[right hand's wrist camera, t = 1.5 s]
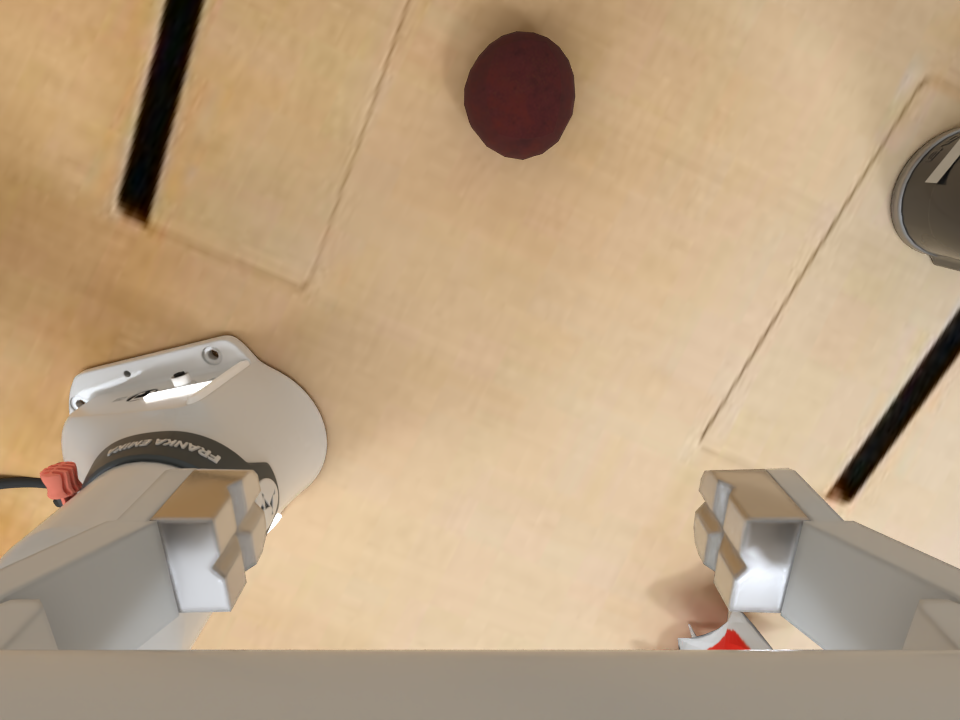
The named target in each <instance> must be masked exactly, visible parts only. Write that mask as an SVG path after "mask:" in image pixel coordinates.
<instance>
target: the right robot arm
mask: <svg viewBox="0 0 960 720" xmlns="http://www.w3.org/2000/svg"><path fill="white" fill-rule="evenodd" d="M212 350H214V351H216V352H217V353H218V357H216V356H214V355H213V353H212ZM82 401H84V402H85V404H83V403H82ZM69 413H70V415H69V417H68V418H67V420H66V422H65V424H64V426H63V430H62V439H61V443H62V454H63V459H64V462H60V463H57V464H55V465H51V466H49V467H48V468H45V469H44V470H43V471H42V472H41V473H40V477H41V479H40V478H29V477H15V478H2V479H0V489H6V488H20V487H37V488H47V490H48V493H47V494H48V495H47V496H48V497H49V498H50V499H54V500H53V502H54V504H55V505H56V506H57V507H60V508H59V509H58V510H57V511H55V512H54V513H53V514H52V515H51V516H49V517H48V518H47V519H46V520H44V521H43V522H42V523H41V524H40V525H38V526H37V527H36V528H35V529H34V530H32V531H31V532H30V533H29V534H28V535H26V536H25V537H24V538H23V539H22V540H20V541H19V542H18V543H16V544H15V545H14V546H13V547H11V548H10V549H9V550H8V551H7V552H6V553H5V554H4V555H3V556H2V557H1V559H0V720H960V569H958V568H956V567H954V566H952V565H950V564H947V563H945V562H943V561H941V560H939V559H936V558H934V557H932V556H930V555H927V554H925V553H923V552H921V551H919V550H916V549H914V548H912V547H910V546H908V545H905V544H903V543H901V542H899V541H897V540H894V539H892V538H890V537H888V536H885V535H883V534H881V533H879V532H877V531H874V530H872V529H870V528H868V527H866V526H863V525H861V524H859V523H857V522H855V521H844V520H843V519H842V518H841V517H840V516H839V515H838V514H837V513H836V512H835V511H834V510H833V509H832V508H831V507H830V506H829V505H828V504H827V503H826V502H825V501H824V500H823V499H822V498H821V497H820V496H819V495H818V494H817V493H816V492H815V491H814V490H813V489H812V488H811V486H810V485H809V484H808V483H807V482H806V481H805V480H804V479H803V478H802V477H801V476H800V475H799V474H798V473H797V472H796V471H794V470H792V469H789V468H778V469H749V470H710V471H704V473H703V476H702V478H701V482H700V487H699V492H700V493H701V495H702V497H703V498H704V500H705V502H704V503H703V504H702V505H701V507H700V508H699V509H698V510H697V511H696V512H695V520H694V537H695V544H696V548H697V551H698V554H699V556H700V558H701V560H702V562H703V564H704V565H706V566H707V567H709V568H710V569H712V570H713V571H715V576H714V582H713V583H714V584H715V586H716V588H717V590H718V592H719V594H720V595H721V597H722V599H723V601H724V603H725V605H726V606H727V608H728V610H729V611H730V612H766V613H781V616H782V617H783V618H785V619H786V620H787V621H788V622H790V623H791V624H792V625H794V626H795V627H796V628H797V629H799V630H800V631H801V632H802V633H804V634H805V635H806V636H807V637H809V638H810V639H811V640H812V641H814V642H815V643H816V644H817V645H819V646H820V647H821V648H823V649H824V650H190V649H191V648H192V646H193V644H194V643H195V641H196V639H197V638H198V636H199V634H200V633H201V631H202V629H203V628H204V626H205V624H206V623H207V621H208V619H209V617H210V616H211V614H212V612H228V611H231V610H232V608H233V607H234V605H235V603H236V601H237V599H238V597H239V595H240V594H241V592H242V590H243V588H244V586H245V584H246V583H247V582H246V576H245V571H247V570H248V569H250V568H251V567H253V566H254V565H256V564H257V562H258V560H259V558H260V556H261V554H262V552H263V547H264V543H265V538H266V536H267V534H268V532H269V531H270V530H271V529H272V528H273V527H274V526H275V525H276V524H277V523H278V521H279V520H280V518H281V515H280V514H281V513H282V511H283V509H284V508H285V507H286V506H287V505H288V504H289V503H290V502H291V501H292V500H293V499H294V498H295V497H296V496H297V495H299V494H300V493H301V492H302V491H303V490H305V489H306V488H307V487H308V486H309V485H310V484H311V483H312V482H313V481H314V480H315V478H316V477H317V476H318V474H319V472H320V471H321V469H322V466H323V464H324V461H325V457H326V452H327V435H326V430H325V426H324V422H323V419H322V417H321V415H320V412H319V410H318V409H317V407H316V405H315V404H314V402H313V401H312V399H311V398H310V397H309V396H308V394H307V393H306V392H305V391H304V390H303V389H302V388H301V387H300V386H299V385H298V384H297V383H295V382H294V381H293V380H292V379H290V378H289V377H287V376H286V375H284V374H282V373H281V372H279V371H277V370H275V369H273V368H271V367H269V366H267V365H266V364H264V363H262V362H261V361H260V360H258V359H257V357H256V356H255V355H254V354H253V353H252V352H251V351H250V350H249V349H248V347H247V346H246V345H245V344H244V343H242V342H241V341H240V340H239V339H237V338H236V337H233V336H230V335H224V336H220V337H216V338H212V339H207V340H203V341H199V342H195V343H191V344H187V345H183V346H179V347H175V348H171V349H167V350H163V351H159V352H155V353H151V354H146V355H142V356H138V357H134V358H130V359H126V360H122V361H118V362H114V363H110V364H106V365H102V366H98V367H94V368H90V369H87V370H84V371H82V372H81V373H79V374H78V375H77V376H75V378H74V380H73V383H72V386H71V390H70V396H69Z"/></svg>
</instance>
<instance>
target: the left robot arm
mask: <svg viewBox="0 0 960 720" xmlns="http://www.w3.org/2000/svg"><path fill="white" fill-rule="evenodd" d="M891 215H892V221H893V224H894V227H895V230H896V232H897V234H898V235H899V237H900V238H901V239H902V240H903V242H904V243H906V244H907V245H908V246H909V247H911V248H912V249H914V250H916V251H918V252H920V253H923V254H927V255H929V256H930V257H931V259H932V262H933V264H934V265H938V266H942V267H946V268H950V269H953V270H957V271H960V127H958V128H955V129H952V130H949V131H947V132H944V133H942V134H940V135H938V136H937V137H935V138H933V139H932V140H930V141H929V142H928V143H926V144H925V145H924V146H923V147H921V148H920V149H919V150H918V151H917V152H916V153H915V154H914V155H913V156H912V158H911V159H910V160H909V161H908V163H907V164H906V165H905V167H904V168H903V170H902V172H901V173H900V175H899V177H898V180H897V182H896V185H895V187H894V191H893V195H892V201H891Z"/></svg>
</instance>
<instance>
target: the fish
mask: <svg viewBox="0 0 960 720" xmlns="http://www.w3.org/2000/svg"><path fill="white" fill-rule="evenodd" d="M688 626H689V629H690V632H691V636H692V638H678V645H679V650H773V649H772V648H771V646H770V645H769V644H768V643H767V641H766V640H765V639H764V637H763V636H762V635H761V634H760V632H759V631H758V630H757V629H756V627H755V626H754V625H753V624H752V623H751V622H750V620H749V619H748V618H747V617H746V616H745V615H744V614H743V613H742V612H730V611H729V610H728V618H727V622H726V623H725V624H724V625H722V626H721V627H720V628H719V629H717V630H714V631H712V632H710V633H707V634H705V635H701V636H697V637H696V635H695V633H694V631H693V629H692V628H691V626H690V624H688Z"/></svg>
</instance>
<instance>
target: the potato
mask: <svg viewBox="0 0 960 720" xmlns="http://www.w3.org/2000/svg"><path fill="white" fill-rule="evenodd" d="M574 101H575V87H574V75H573V72H572V69H571V66H570V63H569V60H568V59H567V57H566V56H565V55H564V53H563V52H562V50H561V49H560V47H558V46H557V45H556V44H555V43H553V42H552V41H551V40H550V39H548V38H547V37H544V36H541V35H539V34H536V33H531V32H517V31H516V32H513V33H510V34H507V35H504V36H501V37H500V38H498V39H497V40H495V41H494V42H492V43H491V44H489V46H488V47H487V48H486V49H485V50H484V51H483V52H482V53H481V54H480V55H479V57H478V58H477V60H476V62H475V63H474V65H473V67H472V68H471V70H470V73H469V76H468V79H467V82H466V85H465V89H464V106H465V109H466V112H467V116H468V119H469V122H470V125H471V127H472V128H473V130H474V131H475V132H476V133H477V135H478V136H479V137H480V138H481V140H482V141H483V142H484V143H485V145H486V146H487V147H489V148H491V149H492V150H494V151H496V152H497V153H499V154H501V155H503V156H504V157H509V158H515V159H522V160H524V159H527V158H530V157H533V156H536V155H540V154H543V153H544V152H545V151H546V150H548V149H549V148H550V147H552V146H553V145H554V144H556V143H557V142H558V141H559V139H560V137H561V135H562V133H563V131H564V130H565V128H566V126H567V124H568V122H569V120H570V118H571V116H572V114H573V107H574Z"/></svg>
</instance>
